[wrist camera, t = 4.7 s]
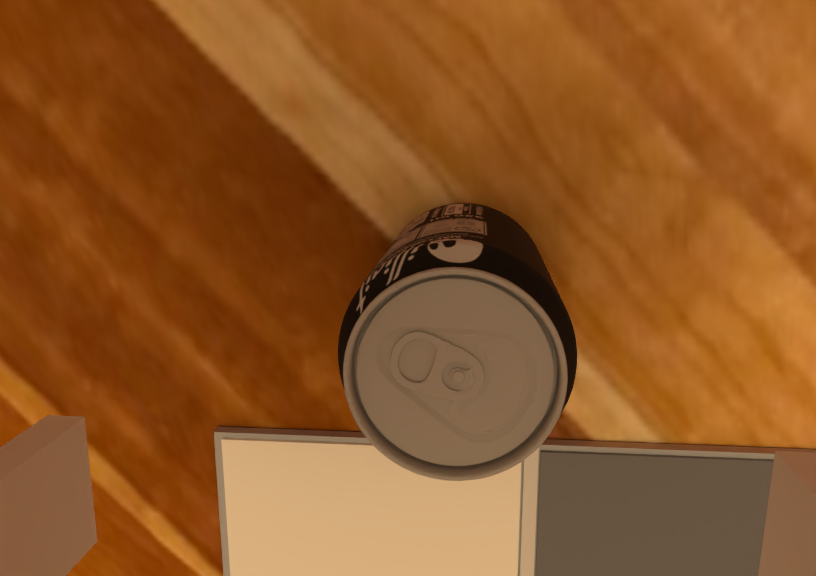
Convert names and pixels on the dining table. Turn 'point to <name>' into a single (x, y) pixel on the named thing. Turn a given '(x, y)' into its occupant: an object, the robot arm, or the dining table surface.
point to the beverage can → (458, 347)
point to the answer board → (489, 510)
